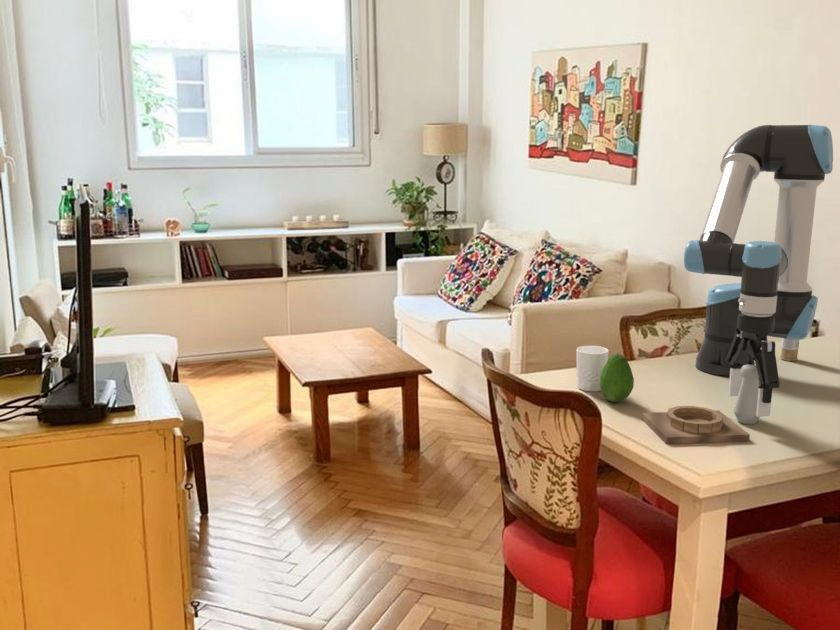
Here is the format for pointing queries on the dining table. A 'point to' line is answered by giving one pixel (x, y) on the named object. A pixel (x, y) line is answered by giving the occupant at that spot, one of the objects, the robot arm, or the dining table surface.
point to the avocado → (616, 379)
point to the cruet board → (694, 437)
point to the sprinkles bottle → (789, 349)
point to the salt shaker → (747, 396)
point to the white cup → (590, 367)
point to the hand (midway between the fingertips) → (748, 405)
